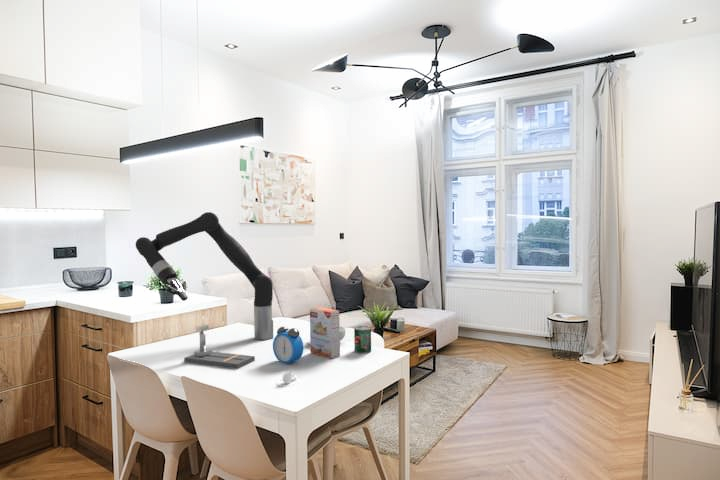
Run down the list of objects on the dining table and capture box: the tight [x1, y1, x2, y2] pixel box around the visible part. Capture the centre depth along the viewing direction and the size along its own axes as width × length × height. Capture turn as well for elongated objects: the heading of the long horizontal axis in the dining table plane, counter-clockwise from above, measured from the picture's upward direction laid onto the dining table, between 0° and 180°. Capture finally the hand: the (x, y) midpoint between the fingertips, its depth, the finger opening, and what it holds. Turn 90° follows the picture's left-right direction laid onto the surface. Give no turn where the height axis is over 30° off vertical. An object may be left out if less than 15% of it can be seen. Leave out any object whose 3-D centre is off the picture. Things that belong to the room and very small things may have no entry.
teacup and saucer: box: [276, 371, 299, 387], centre depth 171 cm, size 9×8×4 cm
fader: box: [193, 324, 213, 356], centre depth 202 cm, size 5×6×13 cm
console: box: [183, 351, 256, 370], centre depth 199 cm, size 28×12×2 cm, turn 68°
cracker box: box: [309, 306, 341, 359], centre depth 207 cm, size 14×6×21 cm, turn 47°
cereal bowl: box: [339, 325, 346, 342], centre depth 229 cm, size 17×17×7 cm
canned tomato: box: [353, 325, 372, 354], centre depth 213 cm, size 8×8×11 cm
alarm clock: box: [272, 326, 304, 365], centre depth 197 cm, size 13×6×15 cm, turn 54°
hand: (185, 299), depth 209 cm, fingers closed
